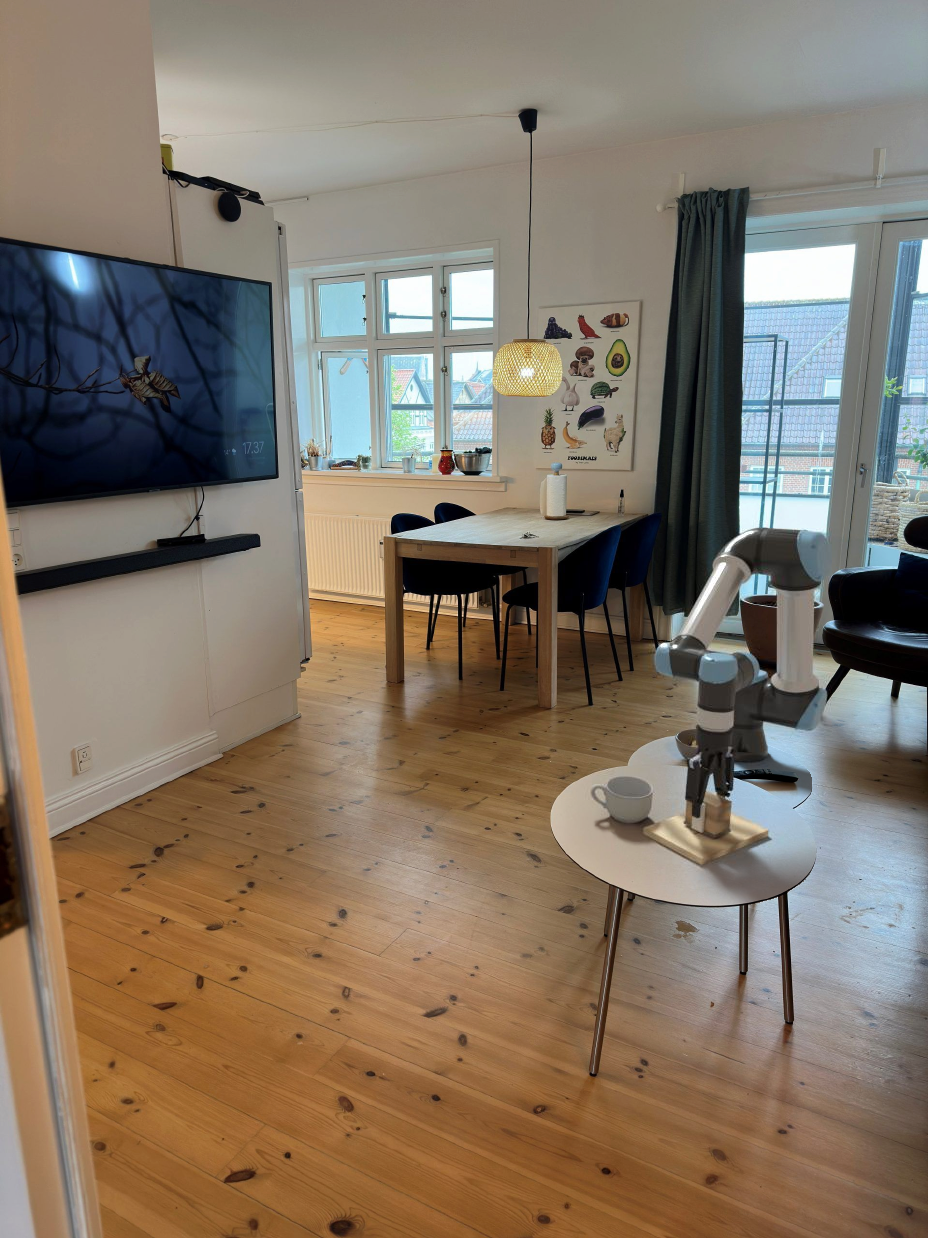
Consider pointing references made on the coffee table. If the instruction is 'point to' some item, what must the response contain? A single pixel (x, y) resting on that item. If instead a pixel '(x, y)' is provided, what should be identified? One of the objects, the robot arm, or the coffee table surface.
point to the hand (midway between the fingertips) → (707, 826)
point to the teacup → (626, 798)
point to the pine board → (704, 837)
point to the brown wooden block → (713, 815)
